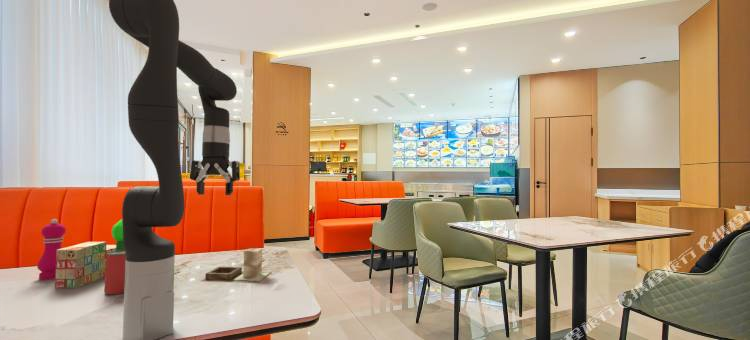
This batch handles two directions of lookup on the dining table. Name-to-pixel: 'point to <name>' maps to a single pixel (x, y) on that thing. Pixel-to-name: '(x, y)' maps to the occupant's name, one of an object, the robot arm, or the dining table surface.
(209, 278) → the puzzle board
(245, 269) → the maple block
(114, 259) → the beer can
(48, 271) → the pepper mill
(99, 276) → the stack of blocks
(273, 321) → the dining table surface
